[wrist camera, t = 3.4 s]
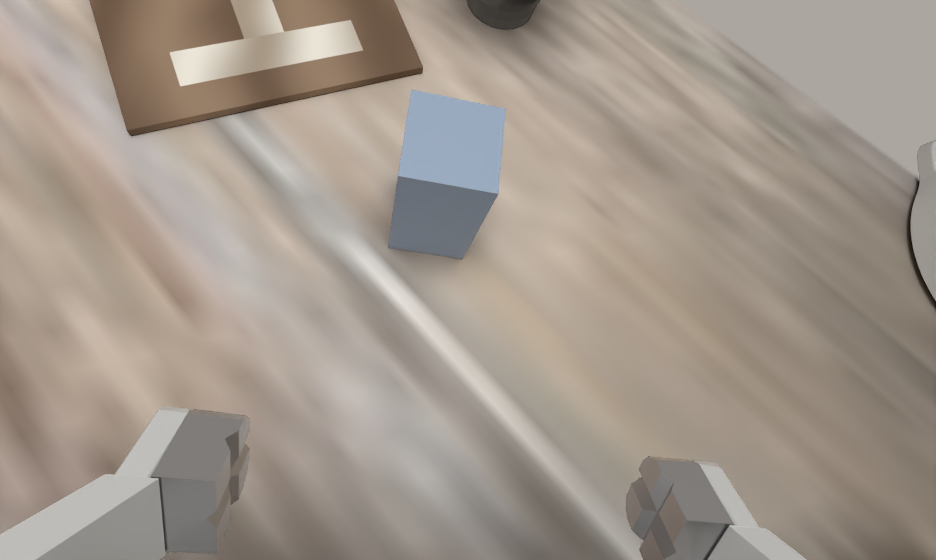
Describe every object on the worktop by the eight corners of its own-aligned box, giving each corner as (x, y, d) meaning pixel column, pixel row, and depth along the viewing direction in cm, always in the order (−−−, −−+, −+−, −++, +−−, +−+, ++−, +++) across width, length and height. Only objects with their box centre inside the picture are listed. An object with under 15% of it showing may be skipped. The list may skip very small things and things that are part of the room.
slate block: (398, 180, 29) (411, 89, 21) (468, 193, 29) (505, 108, 22) (388, 247, 27) (397, 175, 20) (462, 259, 28) (498, 193, 21)
